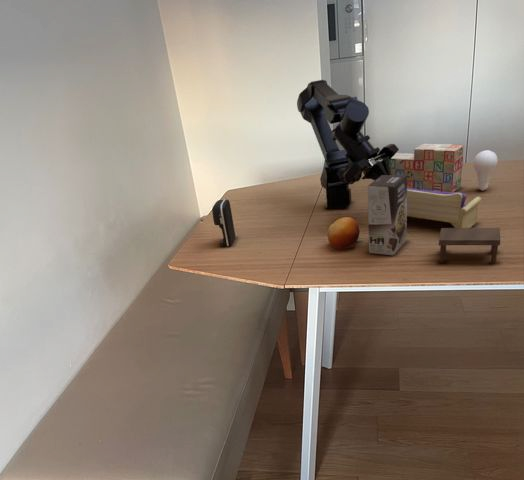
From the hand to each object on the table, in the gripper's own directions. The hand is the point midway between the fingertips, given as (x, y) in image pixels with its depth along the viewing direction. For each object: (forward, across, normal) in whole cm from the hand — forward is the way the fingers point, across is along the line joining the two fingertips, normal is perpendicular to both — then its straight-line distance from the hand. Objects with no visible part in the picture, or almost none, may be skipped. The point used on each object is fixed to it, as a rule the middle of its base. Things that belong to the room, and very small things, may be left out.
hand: (392, 188), depth 133 cm
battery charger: (-18, +29, -30) cm, 46 cm away
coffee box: (+12, +15, -1) cm, 20 cm away
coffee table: (+25, +14, +12) cm, 31 cm away
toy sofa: (+14, -2, +1) cm, 14 cm away
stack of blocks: (+2, -28, -10) cm, 30 cm away
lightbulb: (+15, -30, +2) cm, 34 cm away
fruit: (+4, +19, -8) cm, 21 cm away
